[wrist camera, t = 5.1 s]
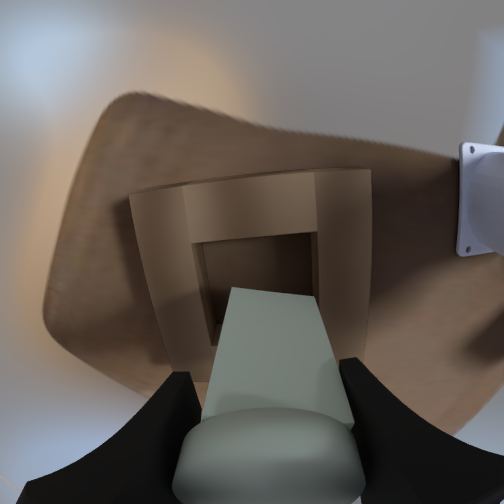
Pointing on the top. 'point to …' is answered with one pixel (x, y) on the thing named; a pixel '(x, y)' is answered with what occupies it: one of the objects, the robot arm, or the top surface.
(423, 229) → the top surface
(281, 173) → the walnut holder
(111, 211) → the top surface
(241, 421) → the green peg
